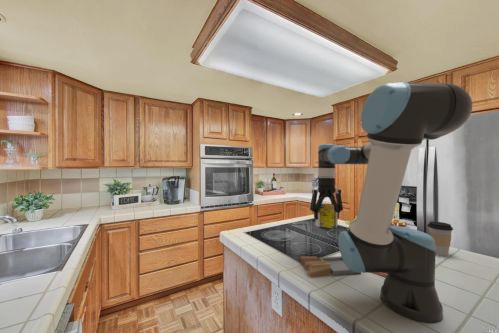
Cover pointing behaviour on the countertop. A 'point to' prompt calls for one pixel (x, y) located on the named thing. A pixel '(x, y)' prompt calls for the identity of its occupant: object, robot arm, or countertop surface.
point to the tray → (338, 266)
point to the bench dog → (319, 268)
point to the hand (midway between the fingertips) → (326, 225)
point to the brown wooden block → (308, 260)
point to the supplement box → (327, 216)
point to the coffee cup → (441, 237)
